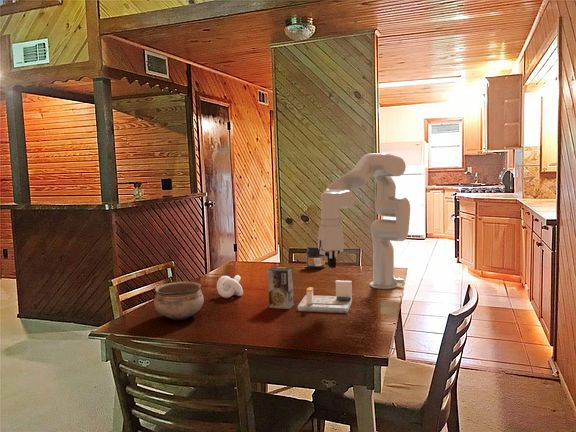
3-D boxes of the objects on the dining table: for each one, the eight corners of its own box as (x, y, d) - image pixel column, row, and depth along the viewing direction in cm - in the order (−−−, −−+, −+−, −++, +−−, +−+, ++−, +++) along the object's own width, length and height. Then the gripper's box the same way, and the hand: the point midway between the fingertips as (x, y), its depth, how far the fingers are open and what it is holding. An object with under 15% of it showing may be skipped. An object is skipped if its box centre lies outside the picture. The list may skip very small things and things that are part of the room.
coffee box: (294, 304, 200) (293, 267, 198) (289, 309, 194) (288, 270, 192) (273, 303, 203) (272, 266, 201) (268, 307, 197) (267, 269, 195)
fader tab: (313, 301, 196) (313, 287, 195) (311, 303, 192) (311, 290, 191) (308, 300, 196) (308, 287, 195) (306, 303, 192) (306, 289, 191)
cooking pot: (197, 328, 175) (195, 295, 173) (146, 329, 175) (143, 296, 174) (210, 307, 199) (208, 278, 198) (165, 308, 200) (163, 279, 199)
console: (351, 301, 202) (351, 296, 202) (347, 313, 187) (347, 307, 186) (305, 299, 207) (305, 294, 207) (297, 310, 191) (297, 305, 191)
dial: (352, 296, 202) (352, 279, 201) (350, 300, 196) (350, 283, 195) (337, 295, 203) (336, 279, 202) (335, 299, 197) (334, 282, 197)
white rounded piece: (250, 295, 216) (250, 275, 215) (230, 301, 208) (229, 281, 207) (234, 291, 224) (233, 272, 223) (214, 296, 215) (213, 277, 214)
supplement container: (319, 270, 262) (318, 248, 261) (303, 268, 268) (302, 247, 266) (328, 266, 271) (328, 245, 269) (312, 264, 276) (311, 244, 275)
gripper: (341, 219, 198) (342, 263, 200) (309, 223, 191) (311, 268, 194) (351, 221, 191) (352, 266, 193) (319, 225, 185) (320, 271, 187)
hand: (332, 267), depth 193 cm, fingers closed
